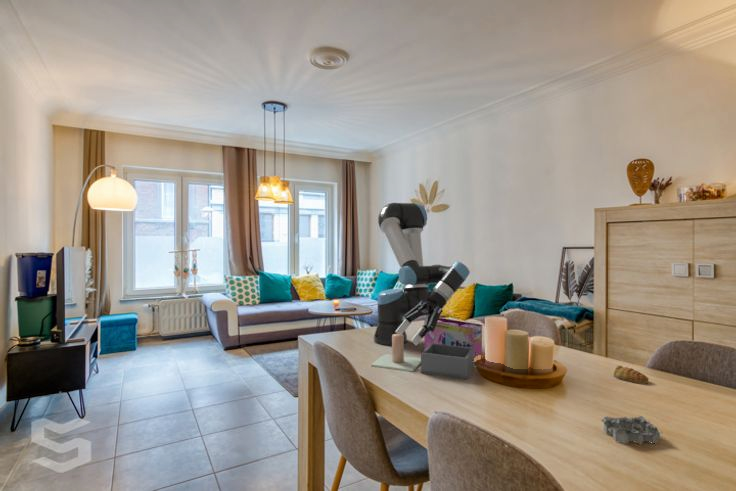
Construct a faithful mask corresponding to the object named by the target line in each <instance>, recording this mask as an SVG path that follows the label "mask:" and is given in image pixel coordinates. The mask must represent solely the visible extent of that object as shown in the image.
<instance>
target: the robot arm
mask: <svg viewBox="0 0 736 491" xmlns="http://www.w3.org/2000/svg"><path fill="white" fill-rule="evenodd" d="M427 221H428V213H427V210H426V209H425V207H424V206H423V205H422V204H420V203H413V202H409V203H408V202H407V203H406V202H391V203H388V204H386V205H384V206H383V208H381V210H380V211H379V214H378V220H377V222H378V223H377V224H378V227H379V229H380V231H381V232H382V233H384V234H385V237H386V239H387V241H388V244H389V245H390V248H391V250H392V253H393V255H394V256H395V258H396V261H397V262H398V265H399V267H400V268H399V270H398V280H399V283H400V284H402V285H403V286H404V287H403V289H401V288H389V289H385V290H382V291H380V292H379V293H378V294H377V303H376V304H377V326H376V329H375V332H374V336H373V340H374V343H375V344H378V345H382V346H383V345H385V346H386V345H387V346H392V335H393V334H403V335H404V344H406V343H407V342H408V335H407V333H406V330H407V329H408V327H409V326H410V325H411V324H412V322H413V321H415V320H416V319H418V318H420V317H423V316H425V318H424V319H425V320H424V321H425V324H423V325H422V326H421V327H420V328H419V330H418V331H416V333H415V335H414V336H413V337H412V338H411V339H410V342H411V343H413V345H415V346H417V345H418V344H419V343H420V342H421V341H422V340H423V339H424V336H425V335H426V333H427V332H429V331H434V329H435V327H436V324H437V322H438V319H439V318H441V317H440V316H441V315H442V314H443V312H444V311H443V308H444V307H445V305H446V304H447V303H448V302H449V300H450V299H451V298H452V297H453V296H454V294H455V293H456V292H457V291H458V289H459V288H460V287H461V286H462V285H463V283H465V281H466V280H467V278H468V276H469V275H470V274H471V273H470V272H471V271H470V269H469V267H467V265H465V264H464V263H462V262H461V261H454V262H453V263H452V264H451V265H450V266H447V265H442V264H433V265H424V260H423V248H422V247H423V246H422V238H421V236H422V235H421V234H422V232H424V228H425V226H427V223H428V222H427ZM428 285H434V287H433V288H432V290H430V289H429V286H428Z"/></svg>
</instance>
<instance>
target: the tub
mask: <svg viewBox="0 0 736 491" xmlns="http://www.w3.org/2000/svg"><path fill="white" fill-rule="evenodd" d="M420 358H421V364H420V374H426V375H432V376H439V377H447V378H452V379H460V380H468V379H469V377H470V375H471V373H472V372H473V370H474V368H475V363H474V362H473V361H474V348H470V347H461V346H452V345H443V344H434V343H431V344H430V345H429V346H428V347H427V348H426V349H425V350H424V349H423V351H421V353H420Z"/></svg>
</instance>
